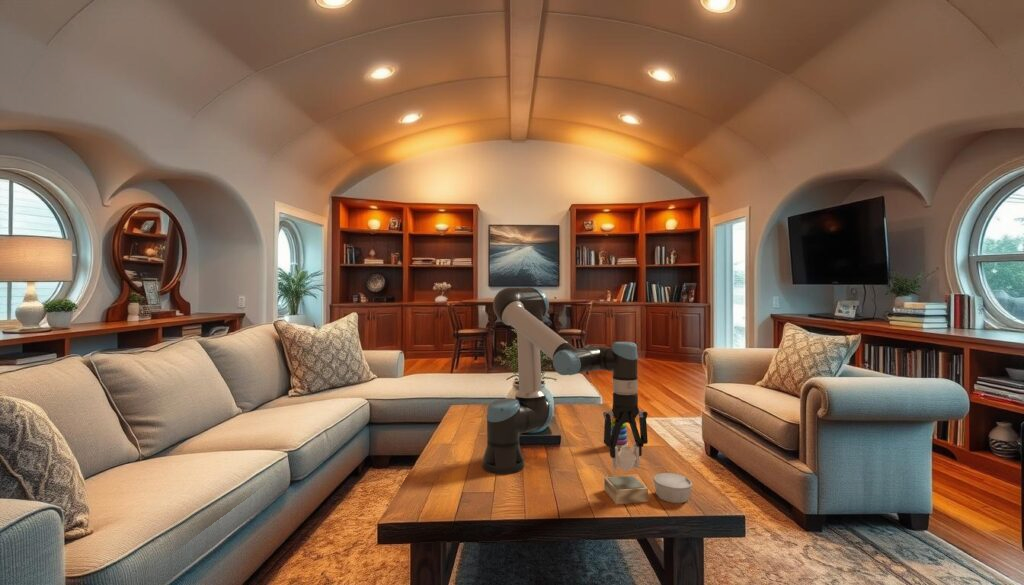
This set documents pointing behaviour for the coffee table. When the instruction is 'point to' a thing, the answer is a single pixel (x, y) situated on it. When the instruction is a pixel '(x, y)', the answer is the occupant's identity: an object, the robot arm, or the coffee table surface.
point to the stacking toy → (620, 434)
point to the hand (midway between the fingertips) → (625, 467)
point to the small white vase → (626, 458)
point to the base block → (625, 489)
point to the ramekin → (672, 487)
